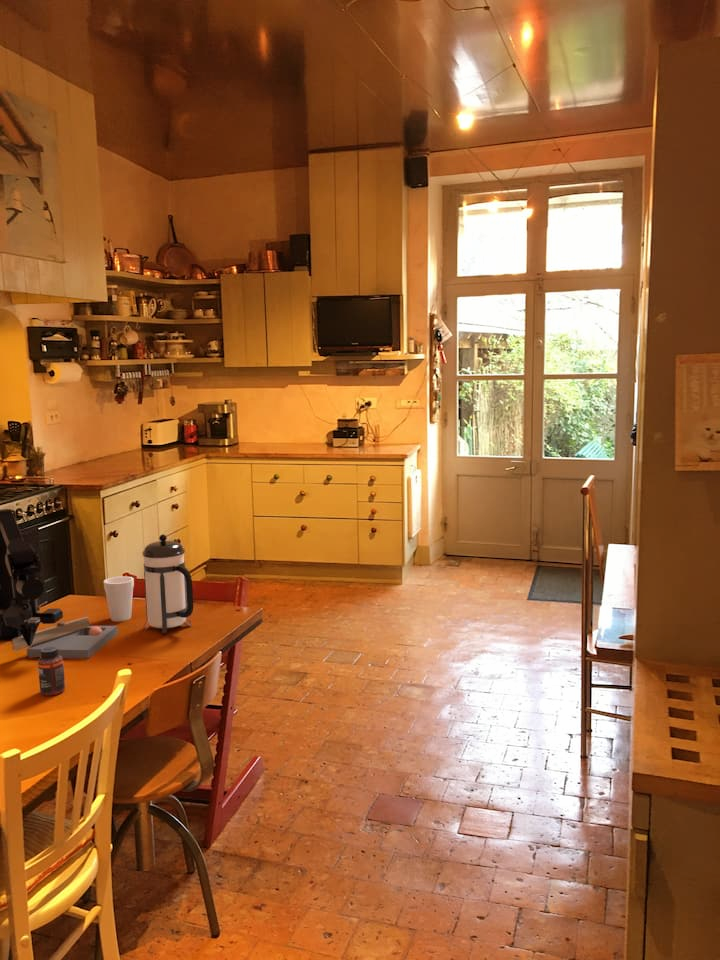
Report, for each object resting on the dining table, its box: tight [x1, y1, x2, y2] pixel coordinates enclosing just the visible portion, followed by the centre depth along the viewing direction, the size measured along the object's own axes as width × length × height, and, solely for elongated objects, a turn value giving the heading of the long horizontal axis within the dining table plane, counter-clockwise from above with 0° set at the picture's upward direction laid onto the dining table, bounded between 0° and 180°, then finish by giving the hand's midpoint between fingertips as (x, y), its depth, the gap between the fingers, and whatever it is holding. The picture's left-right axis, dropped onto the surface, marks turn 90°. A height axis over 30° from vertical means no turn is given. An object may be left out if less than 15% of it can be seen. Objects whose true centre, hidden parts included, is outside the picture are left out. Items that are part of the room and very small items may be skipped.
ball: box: [89, 625, 102, 636], centre depth 232 cm, size 4×4×4 cm
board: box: [26, 625, 119, 659], centre depth 228 cm, size 18×21×2 cm
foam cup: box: [103, 575, 135, 622], centre depth 252 cm, size 10×9×13 cm
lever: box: [11, 616, 90, 651], centre depth 226 cm, size 2×24×4 cm, turn 145°
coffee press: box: [142, 534, 194, 636], centre depth 240 cm, size 17×16×30 cm
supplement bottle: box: [37, 647, 66, 697], centre depth 193 cm, size 6×6×11 cm
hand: (29, 645), depth 217 cm, fingers closed
